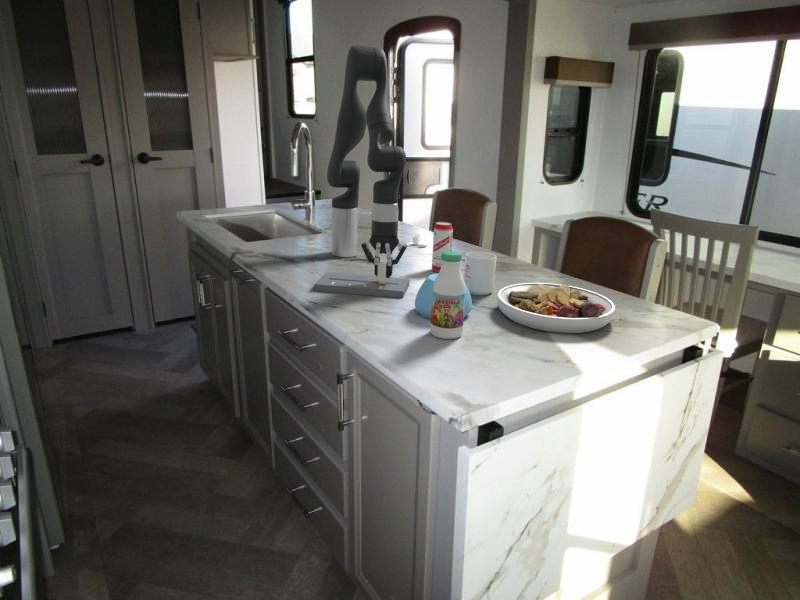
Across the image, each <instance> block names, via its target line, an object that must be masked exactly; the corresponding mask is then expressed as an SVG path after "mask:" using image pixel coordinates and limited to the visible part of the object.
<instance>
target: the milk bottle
mask: <svg viewBox="0 0 800 600" xmlns="http://www.w3.org/2000/svg"><path fill="white" fill-rule="evenodd" d="M462 256H463V254H462V253H461V252H460V251H457V250H452V251H444V252H442V255H441V259H442V260H441V262H442V266H441V269H440V272H438V273H437V274H438V275H437V277H436V279H435V282H434V286H433V295H432V310H431V319H430V326H429V328H430V331H429V332H430V334H431V335H432V336H434V337H435V338H439V339H441V340H442V339H443V340H454V339H458V338H460V337H461V336H462V334H463V332H464V331H463V330H464V322H465V321H464V320H465V319H464V318H465V317H464V307H465V282H464V275H463V274H462V270H461V264H462Z"/></svg>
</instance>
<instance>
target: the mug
mask: <svg viewBox="0 0 800 600" xmlns="http://www.w3.org/2000/svg"><path fill="white" fill-rule="evenodd" d="M464 257H465V261H464V275H463V279H464V282H465V284H466V286H467V288H468V290H469V292H470V295H474V296H487V295H489V294H491V293H492V292H493V291H494V287H495V279H496V278H495V277H496V267H497V258H498V257H497V255H496V254H494V253H491V252H487V251H470V252H467V253H466V254H465V256H464Z"/></svg>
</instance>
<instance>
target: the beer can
mask: <svg viewBox="0 0 800 600" xmlns="http://www.w3.org/2000/svg"><path fill="white" fill-rule="evenodd" d="M453 233H454V229H453V226H452V223H451V222H448V221H437V222H435V225H434V227H433V237H432V240H433V241H432V242H433V243H432V255H431V269H432V270H433V272H436V273H439V272H440V269H441V266H442V262H441V260H442V259H441V255H442V252H444V251H453V250H452V249H453Z"/></svg>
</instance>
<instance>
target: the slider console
mask: <svg viewBox="0 0 800 600" xmlns="http://www.w3.org/2000/svg"><path fill="white" fill-rule="evenodd" d="M410 281H411V279H410V278H406V277H405V278H404V277H402V278H401V277H393V276H390V278H388V280H387V282H386V284H378V281H377V277H376V275H366V274H365V275H364V274H353V273H340V272H327V271H326V272H325V273H324V274H323V275H322V276H321V277H320V278H319V279H318V280H317V281H316V282H315V283H314V284H313V285H314V286H313V287H314V288H313V291H314V292H315V291H316V292H325V293H336V294H348V295H349V294H350V295H360V296H361V295H363V296H373V297H374V296H375V297H386V298H387V297H388V298H397V299H404V297H405V295H406V293H407V292H408V289H409V287H410Z"/></svg>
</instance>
